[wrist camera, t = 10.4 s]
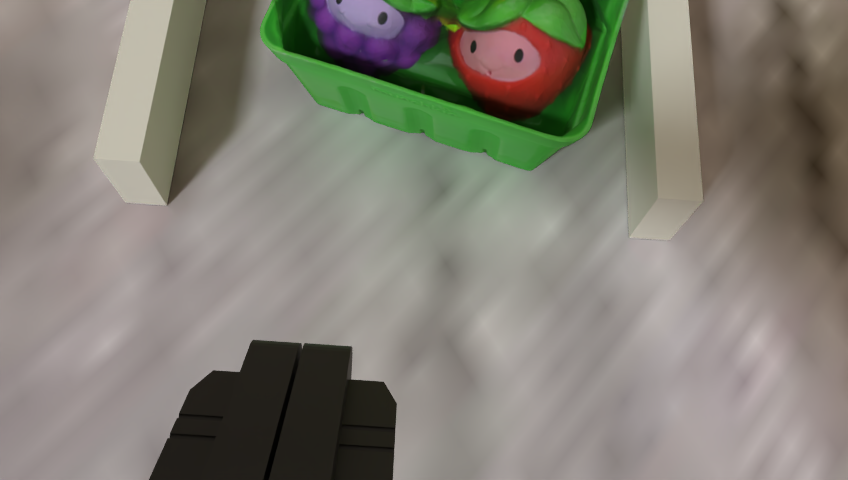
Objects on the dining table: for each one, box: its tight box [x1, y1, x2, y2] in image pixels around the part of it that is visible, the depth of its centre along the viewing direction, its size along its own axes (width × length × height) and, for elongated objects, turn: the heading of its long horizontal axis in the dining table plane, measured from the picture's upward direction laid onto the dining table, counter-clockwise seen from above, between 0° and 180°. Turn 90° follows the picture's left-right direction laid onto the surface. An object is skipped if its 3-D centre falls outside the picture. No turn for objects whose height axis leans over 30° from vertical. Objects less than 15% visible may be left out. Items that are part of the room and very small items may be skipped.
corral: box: [93, 0, 703, 241], centre depth 31 cm, size 16×20×4 cm
